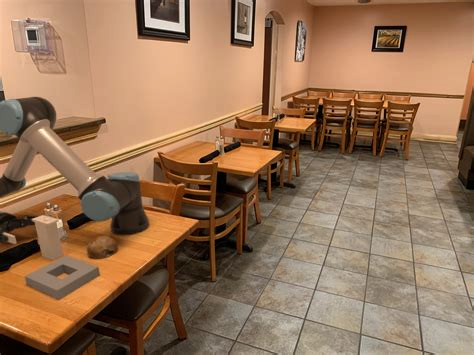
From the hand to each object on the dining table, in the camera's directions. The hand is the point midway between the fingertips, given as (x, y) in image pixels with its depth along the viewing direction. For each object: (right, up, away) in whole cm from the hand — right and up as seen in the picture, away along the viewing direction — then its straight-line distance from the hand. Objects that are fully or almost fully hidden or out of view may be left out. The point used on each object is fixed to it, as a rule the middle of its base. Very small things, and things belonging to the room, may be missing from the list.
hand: (34, 232), depth 126 cm
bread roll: (+25, -7, -1) cm, 26 cm away
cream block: (+8, -8, -2) cm, 11 cm away
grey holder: (+19, -12, -17) cm, 28 cm away
